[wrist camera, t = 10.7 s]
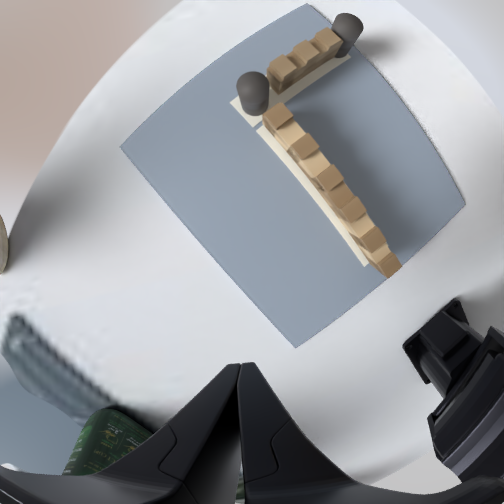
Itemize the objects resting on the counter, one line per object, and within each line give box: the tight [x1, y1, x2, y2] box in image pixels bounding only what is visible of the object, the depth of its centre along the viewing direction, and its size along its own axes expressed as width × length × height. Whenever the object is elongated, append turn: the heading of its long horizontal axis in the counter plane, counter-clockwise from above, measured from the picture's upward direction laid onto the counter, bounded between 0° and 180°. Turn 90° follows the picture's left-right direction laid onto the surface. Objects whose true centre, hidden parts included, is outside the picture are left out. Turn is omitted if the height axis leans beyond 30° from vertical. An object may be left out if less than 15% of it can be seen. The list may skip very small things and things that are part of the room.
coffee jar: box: [62, 409, 153, 476], centre depth 17 cm, size 10×8×19 cm
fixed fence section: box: [236, 13, 363, 116], centre depth 15 cm, size 2×9×4 cm, turn 130°
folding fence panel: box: [262, 102, 402, 279], centre depth 17 cm, size 12×1×3 cm, turn 39°
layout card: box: [120, 4, 465, 348], centre depth 19 cm, size 20×18×1 cm
